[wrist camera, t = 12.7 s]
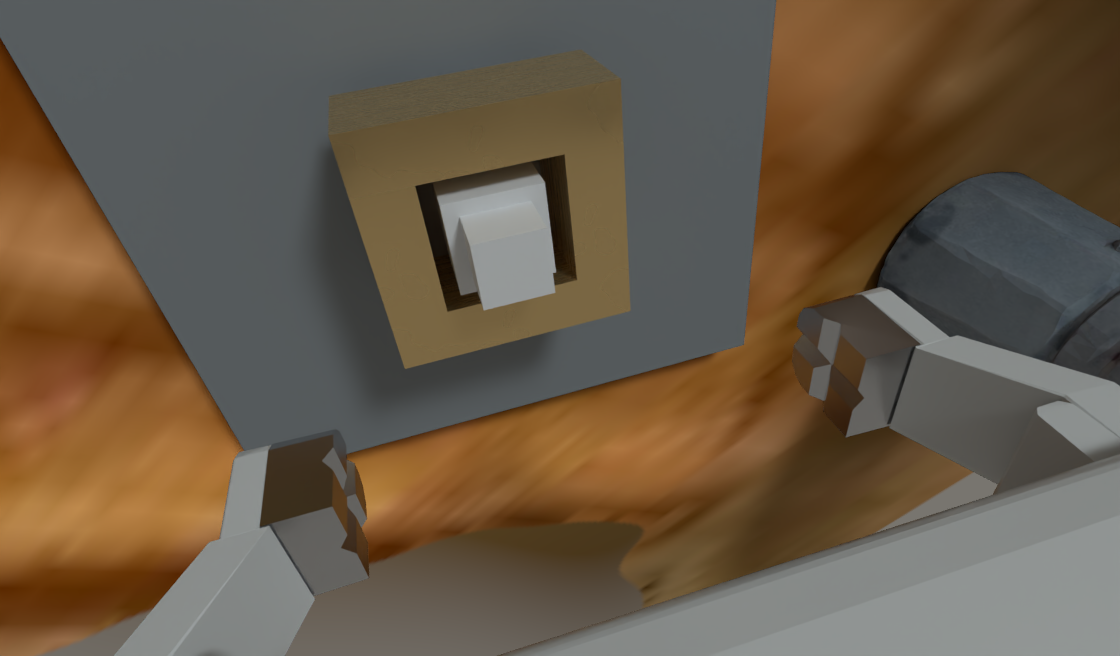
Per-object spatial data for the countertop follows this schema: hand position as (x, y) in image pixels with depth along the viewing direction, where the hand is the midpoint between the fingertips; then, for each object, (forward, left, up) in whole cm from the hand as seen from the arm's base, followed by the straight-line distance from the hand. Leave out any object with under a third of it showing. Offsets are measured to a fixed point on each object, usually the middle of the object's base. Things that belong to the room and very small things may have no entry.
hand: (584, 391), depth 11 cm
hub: (0, 0, -12) cm, 12 cm away
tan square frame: (0, 0, -9) cm, 9 cm away
